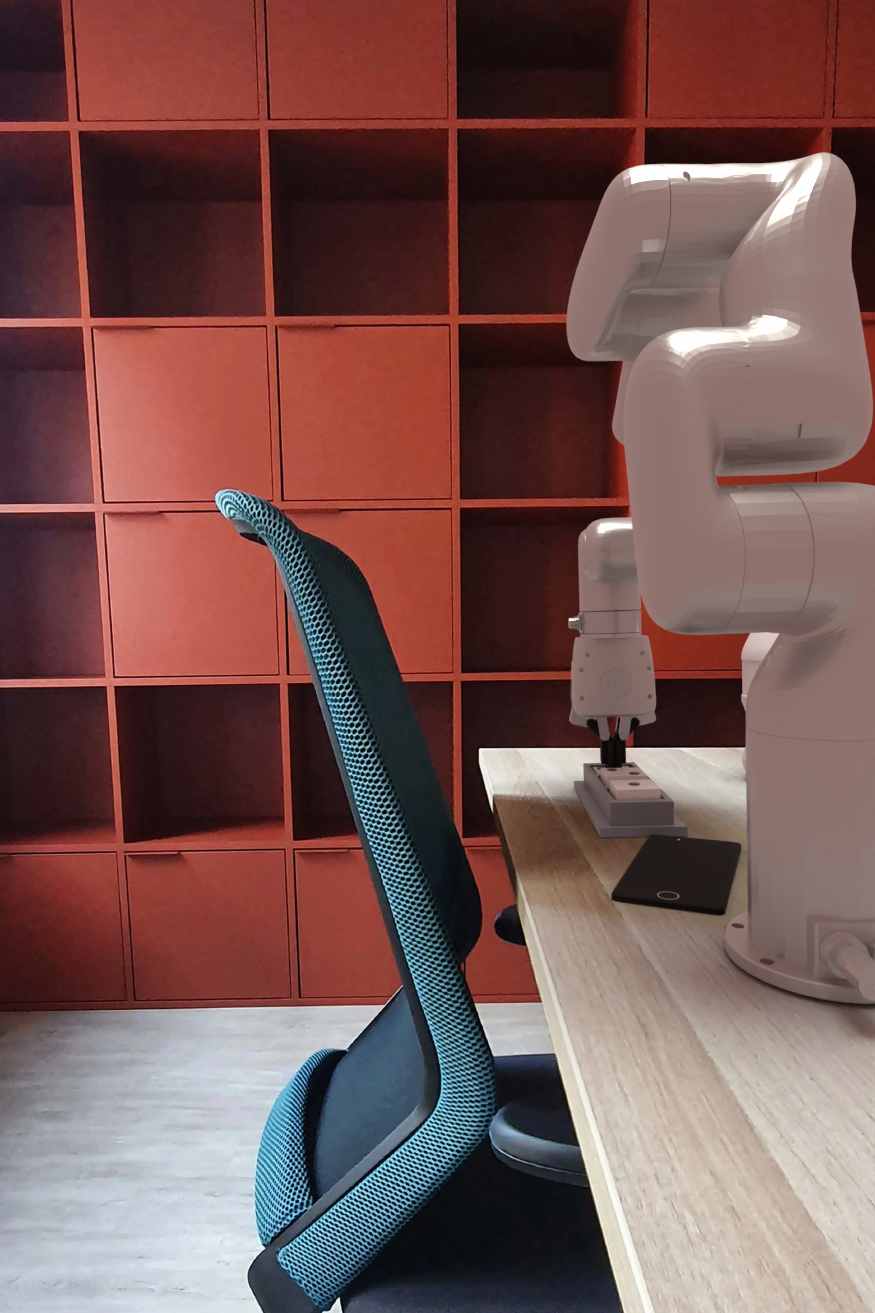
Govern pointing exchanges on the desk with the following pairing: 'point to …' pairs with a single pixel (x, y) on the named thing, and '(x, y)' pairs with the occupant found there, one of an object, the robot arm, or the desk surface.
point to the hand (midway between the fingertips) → (613, 769)
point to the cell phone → (680, 874)
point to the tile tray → (626, 810)
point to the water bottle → (753, 663)
